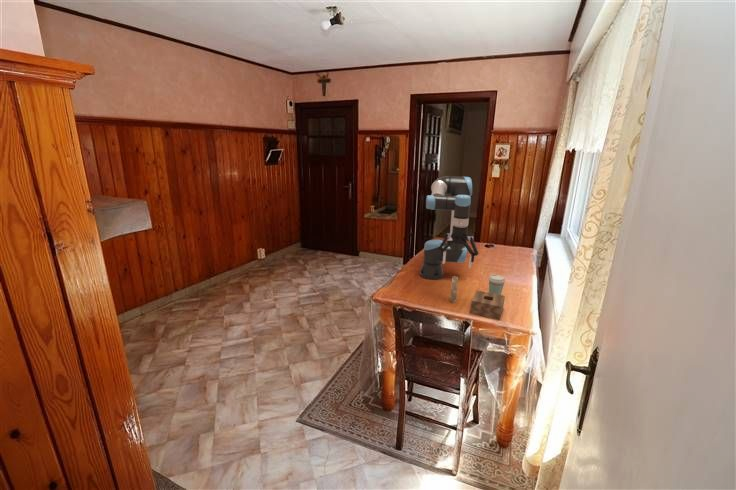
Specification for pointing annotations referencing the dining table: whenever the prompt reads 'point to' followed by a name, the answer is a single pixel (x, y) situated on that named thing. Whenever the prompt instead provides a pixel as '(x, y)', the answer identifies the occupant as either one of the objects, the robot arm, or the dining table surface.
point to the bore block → (487, 304)
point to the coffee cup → (496, 284)
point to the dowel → (454, 289)
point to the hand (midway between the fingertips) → (456, 265)
